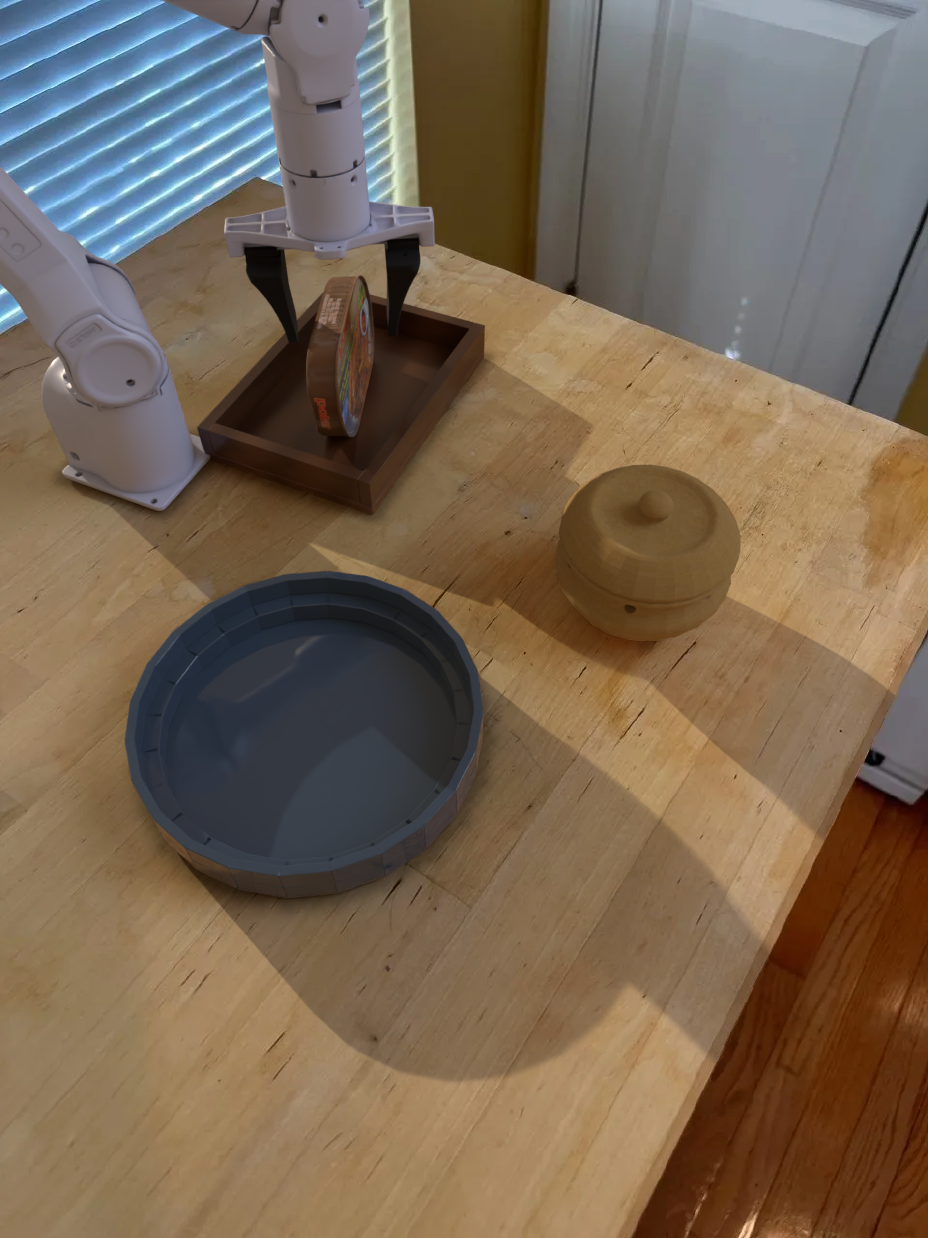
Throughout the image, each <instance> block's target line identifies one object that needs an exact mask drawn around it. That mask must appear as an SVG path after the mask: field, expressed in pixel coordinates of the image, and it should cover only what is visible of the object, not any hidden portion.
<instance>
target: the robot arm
mask: <svg viewBox="0 0 928 1238" xmlns="http://www.w3.org/2000/svg"><path fill="white" fill-rule="evenodd" d="M161 1H162V2H164V3H167V4H169V5H172V6H174V7H177V8H178V9H181V10H184V11H186V12H189V13H190V14H193V15H196V16H198V17H199V18H202V19H205V20H207V21H210V22H213V23H215V24H217V25H219V26H222V27H225V28H227V29H228V30H232V31H234V32H236V33H239V34H242V35H259V36H260V35H261V36H263V37H262V38H261V41H260V42H261V48H262V53H263V59H264V66H265V73H266V78H267V80H266V90H267V95H268V103H269V108H270V115H271V121H272V127H273V134H274V139H275V146H276V153H277V159H278V166H279V171H280V176H281V177H280V178H281V184H282V191H283V197H284V203H285V204H284V206H281V207H277V208H272V209H268V210H265V211H260V212H255V213H251V214H247V215H239V216H231V217H225V218H224V226H223V227H224V229H223V234H224V240H225V244H226V248H227V253H228V257H229V258H244V257H245V274H246V276H247V278H248V280H249V282H250V283H251V285H252V286H254V288H256V289H257V291H259V293H260V294H261V295H262V296H263V297H264V299H265V300H266V301H267V303H268V304H269V305H270V307H271V308H272V310H273V312H274V313H275V315H276V317H277V318H278V320H279V322H280V324H281V326H282V328H283V331H284V333H286V336H287V338H288V342H298V324H297V319H298V318H297V317H298V316H297V311H296V307H295V303H294V298H293V295H292V290H291V287H290V281H289V274H288V267H287V259H286V252H285V250H296V251H302V252H310V253H314V256H315V258H316V259H317V260H321V261H327V260H341V259H344V258H345V257H347V252H348V251H351V250H355V249H358V248H364V247H367V246H373V245H374V246H375V245H384V258H385V272H386V299H387V320H388V332H389V336H397V335H398V324H399V319H400V314H401V310H402V307H403V303H404V304H405V301H406V297H407V294H408V293H409V290H410V288H411V286H412V284H413V282H414V280H415V278H416V277H417V275H418V273H419V270H420V267H421V250H420V247H421V248H422V247H423V248H426V247H427V248H428V247H435V246H436V244H435V243H436V241H435V239H436V238H435V217H434V211H433V207H432V206H409V205H401V204H394V203H393V204H392V203H385V202H380V201H379V202H378V201H373V200H370V199H369V198H370V197H369V186H368V176H367V175H368V173H367V164H366V163H367V162H366V149H365V138H364V125H363V113H362V103H361V102H362V101H361V89H360V81H359V78H358V66H357V56H358V54H359V52H360V50H361V49H362V47H363V45H364V43H365V40H366V38H367V34H368V30H369V25H370V9H369V8H368V7H366V6H365V5H364V4H363V0H161ZM0 286H1V287H3V288H4V289H5V290H6V291H7V292H8V293H9V294H10V296H12V297H13V299H14V300H15V301H16V303H17V305H19V308H20V309H21V310H22V312H23V314H24V315H25V317H26V318H27V319H28V321H29V323H30V324H31V325H32V327H33V328H34V330H35V332H36V333H37V335H38V336H39V338H40V339H41V341H42V342H43V344H45V345H46V347H47V348H49V349H50V350H51V351H52V352H53V353H54V354H55V355H56V357H55V358H54V359H53V361H52V362H51V363H50V365H49V366H48V368H47V370H46V371H45V374H44V376H43V379H42V383H41V403H42V407H43V411H44V413H45V415H46V418H47V420H48V421H49V424H50V426H51V429H52V430H53V433H54V435H55V437H56V439H57V442H58V444H59V446H60V448H61V450H62V453H63V454H64V457H65V459H66V461H67V463H68V464H67V465H66V466H65V467H64V468H63V469H62V472H61V473H62V475H63V477H64V478H65V479H68V480H71V481H73V482H76V483H79V484H81V485H85V486H87V487H89V488H93V489H94V490H95V489H96V490H98V491H101V492H104V493H106V494H109V495H112V496H115V497H117V498H120V499H122V500H126V501H128V502H132V503H135V504H137V505H139V506H143V507H145V508H148V509H151V510H154V511H156V512H162V511H165V509H167V508H168V507H169V506H170V504H172V502H173V501H174V500H175V499H176V498H177V496H179V494H180V493H181V492H182V491H183V490H184V489H185V488H186V487H187V485H188V484H189V483H190V482H191V481H192V480H193V479H194V478H195V476H197V474H198V473H199V472H200V471H201V470H202V469H203V468H204V466H205V465H206V464H207V463H208V462H209V461H211V460H210V455H208V454H205V453H204V450H203V446H202V443H201V440H200V436H199V435H195V434H192V433H190V430H189V427H188V423H187V421H186V417H185V415H184V411H183V407H182V404H181V401H180V398H179V395H178V391H177V388H176V385H175V381H174V378H173V375H172V371H171V367H170V365H169V361H168V358H167V356H166V353H165V352H164V350H163V349H162V347H161V346H160V343H159V342H158V340H157V338H156V337H154V335H153V333H152V331H151V329H150V326H149V324H148V322H147V320H146V317H145V315H144V313H143V311H142V308H141V306H140V304H139V302H138V300H137V297H136V290H135V288H134V284H133V282H132V281H131V279H130V277H129V276H128V274H127V273H126V272H125V271H124V270H123V269H121V267H119V266H118V265H117V264H115V263H113V262H112V261H110V260H106V259H105V258H102V257H100V256H98V255H95V254H93V253H92V252H90V251H89V250H87V249H86V248H85V247H84V246H83V245H82V243H80V241H78V239H77V238H76V237H75V236H74V235H72V234H70V233H68V232H64V231H62V230H60V229H58V227H57V226H56V225H55V224H54V223H53V222H52V221H51V220H50V219H49V217H47V216H46V214H45V213H44V212H43V211H42V210H41V209H40V208H39V207H38V206H37V204H36V203H35V202H34V201H33V200H32V199H31V198H30V197H29V196H28V194H27V193H26V192H25V191H24V190H23V189H22V188H21V187H20V186H19V185H18V183H16V181H15V180H14V179H13V177H11V176H10V174H8V172H6V171H5V169H3V168H2V166H1V165H0Z"/></svg>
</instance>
